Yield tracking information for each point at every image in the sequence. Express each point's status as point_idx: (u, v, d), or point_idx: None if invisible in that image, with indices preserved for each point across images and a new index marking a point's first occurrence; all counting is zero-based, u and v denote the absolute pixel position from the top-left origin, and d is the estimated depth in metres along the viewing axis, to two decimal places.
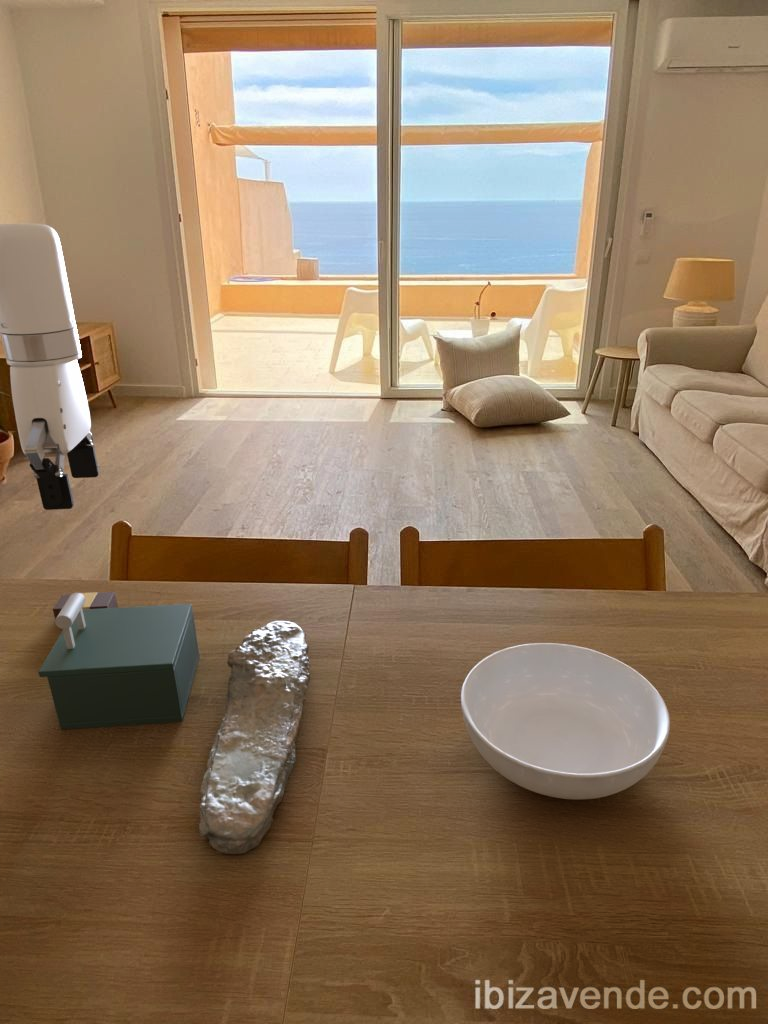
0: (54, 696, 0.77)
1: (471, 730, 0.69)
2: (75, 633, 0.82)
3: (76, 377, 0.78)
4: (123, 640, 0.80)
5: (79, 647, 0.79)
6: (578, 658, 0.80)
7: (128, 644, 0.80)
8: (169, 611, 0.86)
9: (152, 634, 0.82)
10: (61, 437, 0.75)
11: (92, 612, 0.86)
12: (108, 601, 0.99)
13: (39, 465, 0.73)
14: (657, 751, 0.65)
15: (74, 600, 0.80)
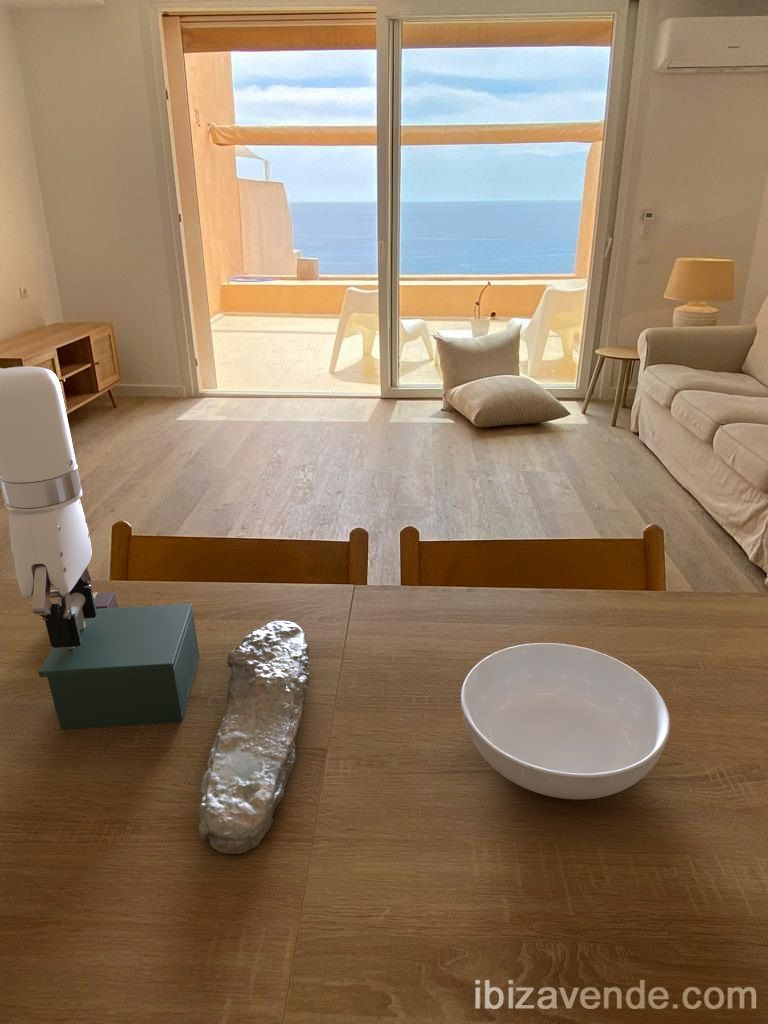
0: (54, 696, 0.77)
1: (471, 730, 0.69)
2: None
3: (76, 513, 0.76)
4: (123, 640, 0.80)
5: (79, 647, 0.79)
6: (578, 658, 0.80)
7: (128, 644, 0.80)
8: (169, 611, 0.86)
9: (152, 634, 0.82)
10: (61, 581, 0.73)
11: None
12: (108, 601, 0.99)
13: (48, 614, 0.73)
14: (657, 751, 0.65)
15: (74, 600, 0.80)
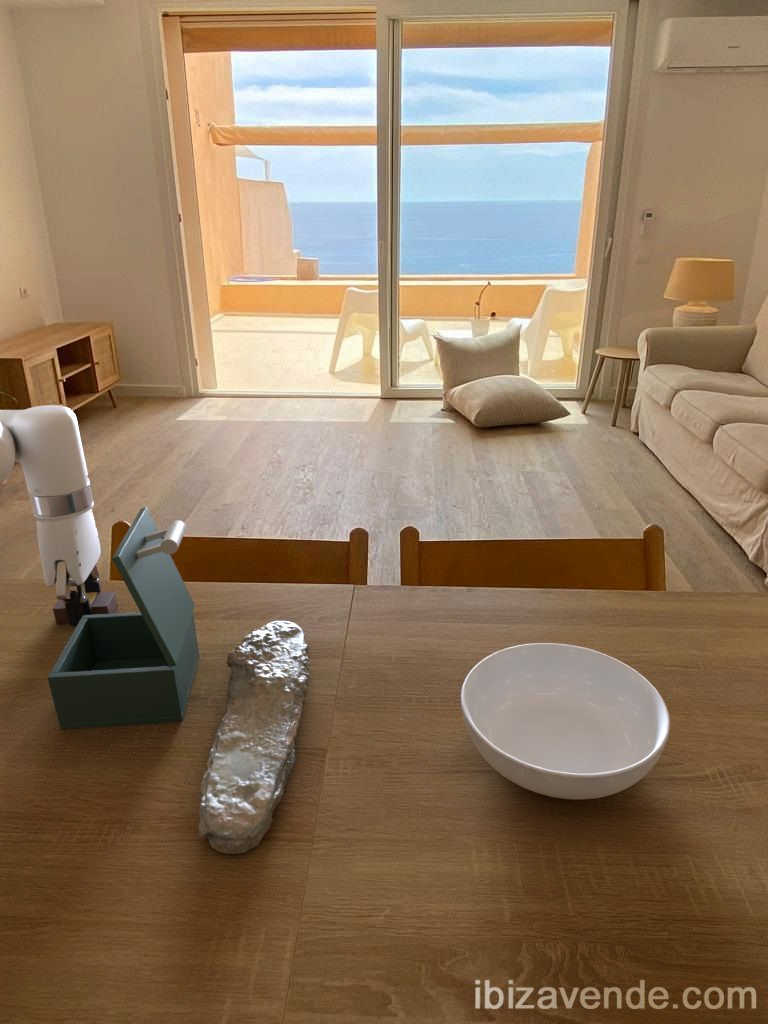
0: (54, 696, 0.77)
1: (471, 730, 0.69)
2: (142, 539, 0.78)
3: (89, 519, 0.96)
4: (160, 593, 0.78)
5: (141, 562, 0.76)
6: (578, 658, 0.80)
7: (162, 602, 0.78)
8: (185, 596, 0.85)
9: (174, 611, 0.81)
10: (77, 573, 0.92)
11: (153, 527, 0.82)
12: (108, 601, 0.99)
13: (68, 599, 0.93)
14: (657, 751, 0.65)
15: (183, 533, 0.78)
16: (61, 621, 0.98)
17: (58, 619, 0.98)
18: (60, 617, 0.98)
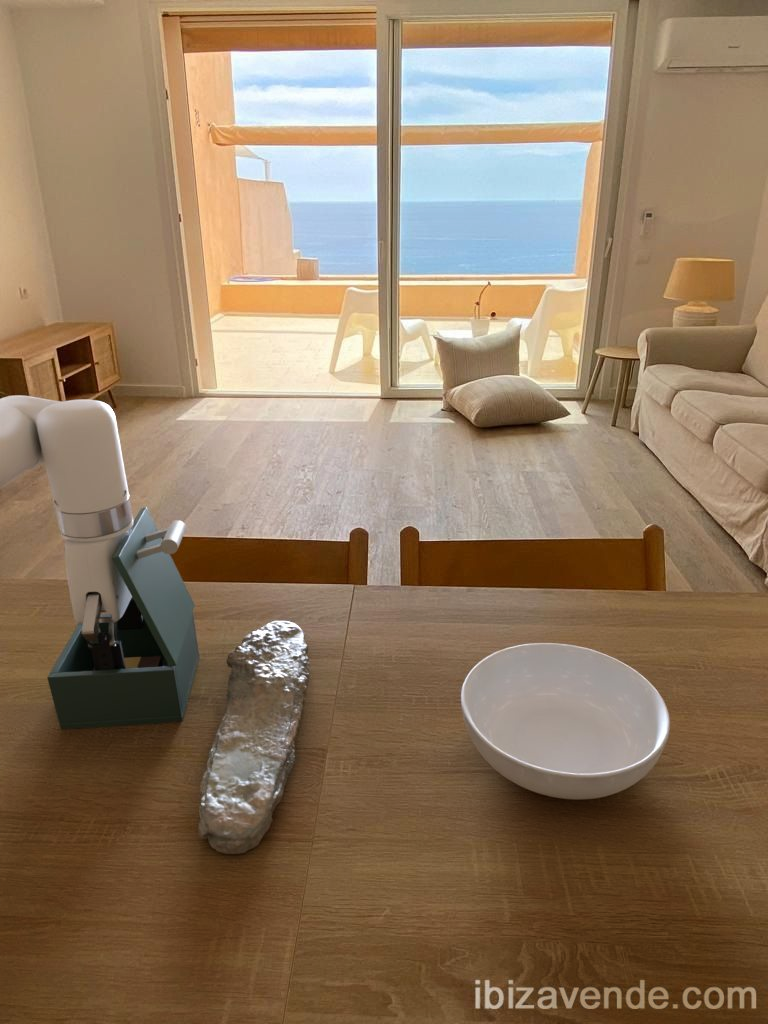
0: (54, 696, 0.77)
1: (471, 730, 0.69)
2: (142, 539, 0.78)
3: None
4: (160, 593, 0.78)
5: (141, 562, 0.76)
6: (578, 658, 0.80)
7: (162, 602, 0.78)
8: (185, 596, 0.85)
9: (174, 611, 0.81)
10: (114, 608, 0.75)
11: (153, 527, 0.82)
12: None
13: (95, 641, 0.73)
14: (657, 751, 0.65)
15: (183, 533, 0.78)
16: None
17: None
18: None
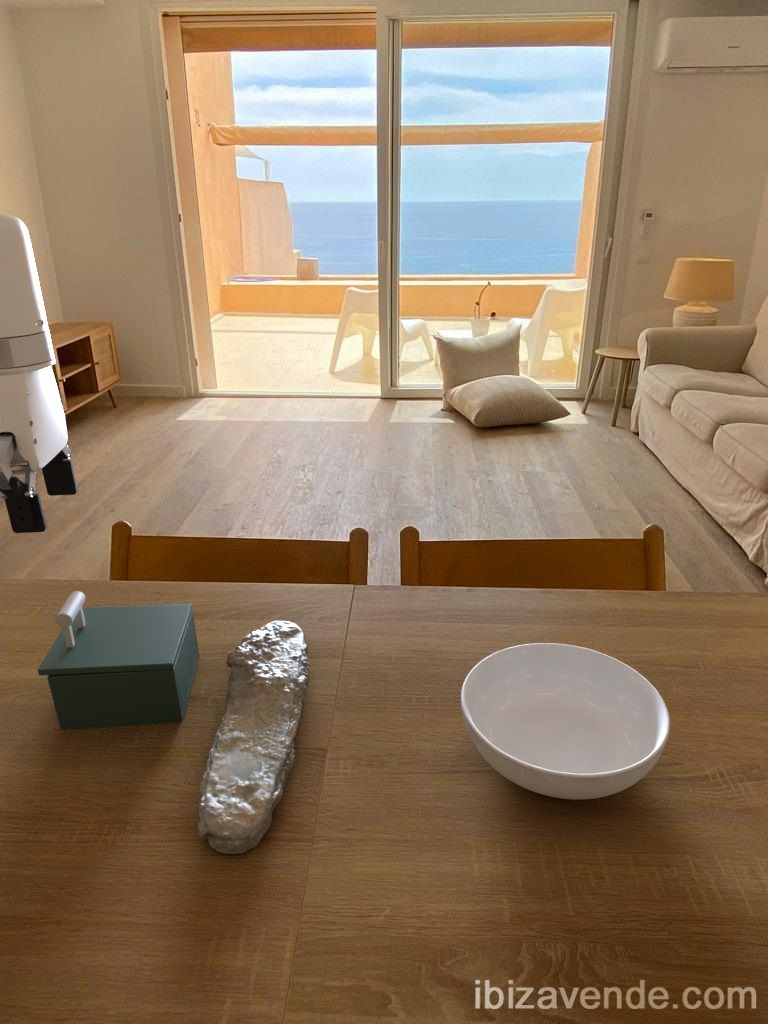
0: (54, 696, 0.77)
1: (471, 730, 0.69)
2: (75, 631, 0.82)
3: (49, 386, 0.71)
4: (122, 639, 0.80)
5: (79, 645, 0.79)
6: (578, 658, 0.80)
7: (128, 643, 0.80)
8: (169, 611, 0.86)
9: (152, 634, 0.82)
10: (31, 453, 0.67)
11: (92, 611, 0.86)
12: None
13: (6, 485, 0.65)
14: (657, 751, 0.65)
15: (74, 598, 0.80)
16: None
17: None
18: None
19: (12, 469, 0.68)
